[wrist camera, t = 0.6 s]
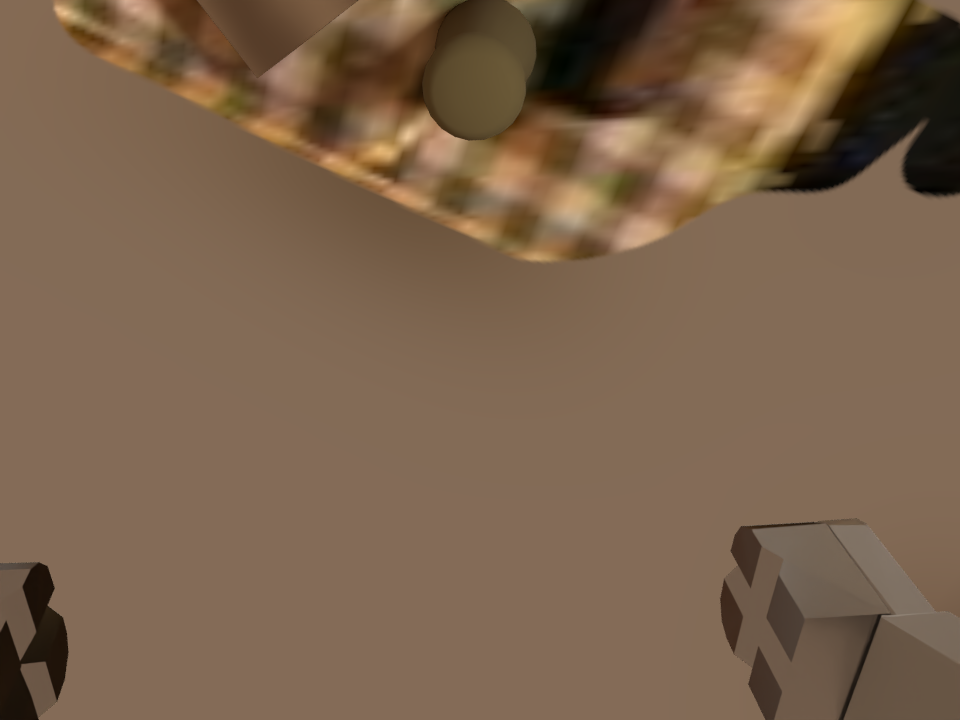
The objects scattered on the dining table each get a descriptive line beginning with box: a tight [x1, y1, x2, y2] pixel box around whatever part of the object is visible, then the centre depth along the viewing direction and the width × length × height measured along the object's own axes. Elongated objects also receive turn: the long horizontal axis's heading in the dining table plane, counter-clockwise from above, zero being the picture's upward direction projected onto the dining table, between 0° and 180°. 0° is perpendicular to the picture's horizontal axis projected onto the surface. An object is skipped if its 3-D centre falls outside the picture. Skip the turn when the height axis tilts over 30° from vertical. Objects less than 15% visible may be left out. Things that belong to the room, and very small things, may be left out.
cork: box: [422, 0, 536, 140], centre depth 46 cm, size 6×6×11 cm
